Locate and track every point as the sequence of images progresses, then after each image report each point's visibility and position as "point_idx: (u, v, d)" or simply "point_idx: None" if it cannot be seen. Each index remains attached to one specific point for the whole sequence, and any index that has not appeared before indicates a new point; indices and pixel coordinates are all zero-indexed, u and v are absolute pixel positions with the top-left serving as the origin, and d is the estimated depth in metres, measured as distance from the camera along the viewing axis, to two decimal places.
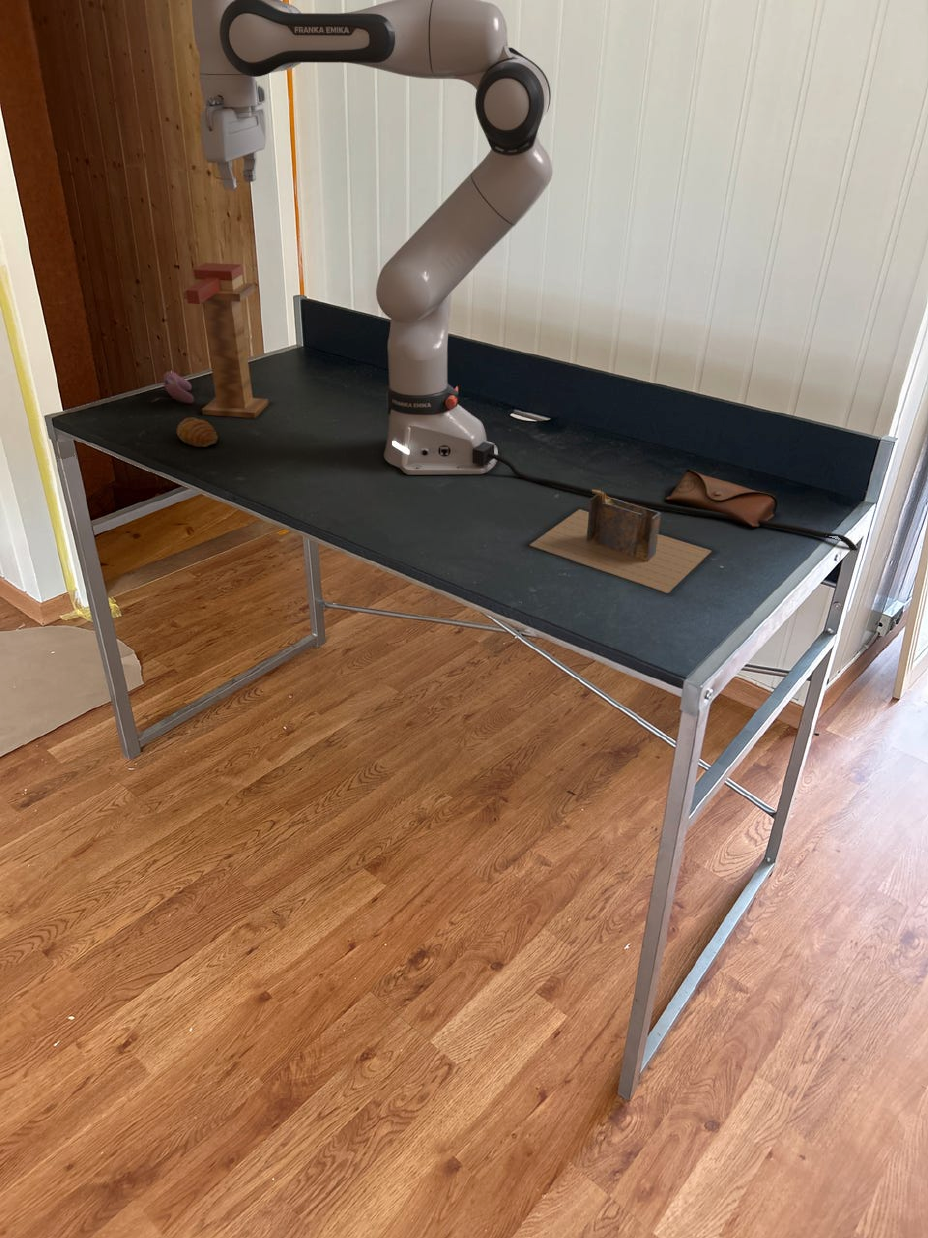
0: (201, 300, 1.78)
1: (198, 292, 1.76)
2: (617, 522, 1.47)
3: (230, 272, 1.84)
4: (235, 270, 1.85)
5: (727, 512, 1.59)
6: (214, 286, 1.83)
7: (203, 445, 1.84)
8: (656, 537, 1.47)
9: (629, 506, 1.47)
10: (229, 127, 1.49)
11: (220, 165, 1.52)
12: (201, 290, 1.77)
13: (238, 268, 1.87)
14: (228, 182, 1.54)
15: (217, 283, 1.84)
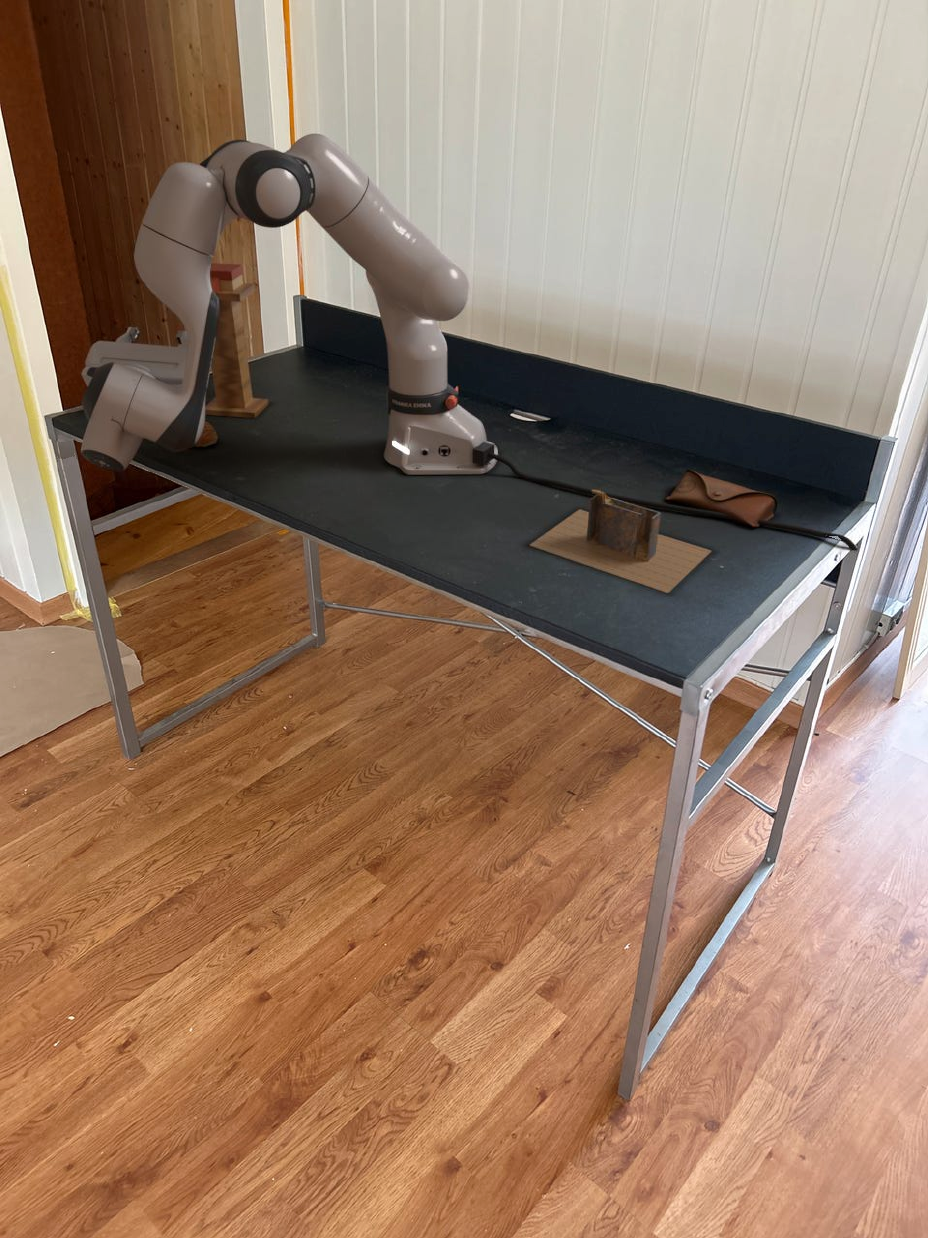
0: None
1: None
2: (617, 522, 1.47)
3: (230, 272, 1.84)
4: (235, 270, 1.85)
5: (727, 512, 1.59)
6: (214, 286, 1.83)
7: (203, 445, 1.84)
8: (656, 537, 1.47)
9: (629, 506, 1.47)
10: (170, 367, 1.59)
11: None
12: None
13: (238, 268, 1.87)
14: (185, 338, 1.64)
15: (217, 283, 1.84)
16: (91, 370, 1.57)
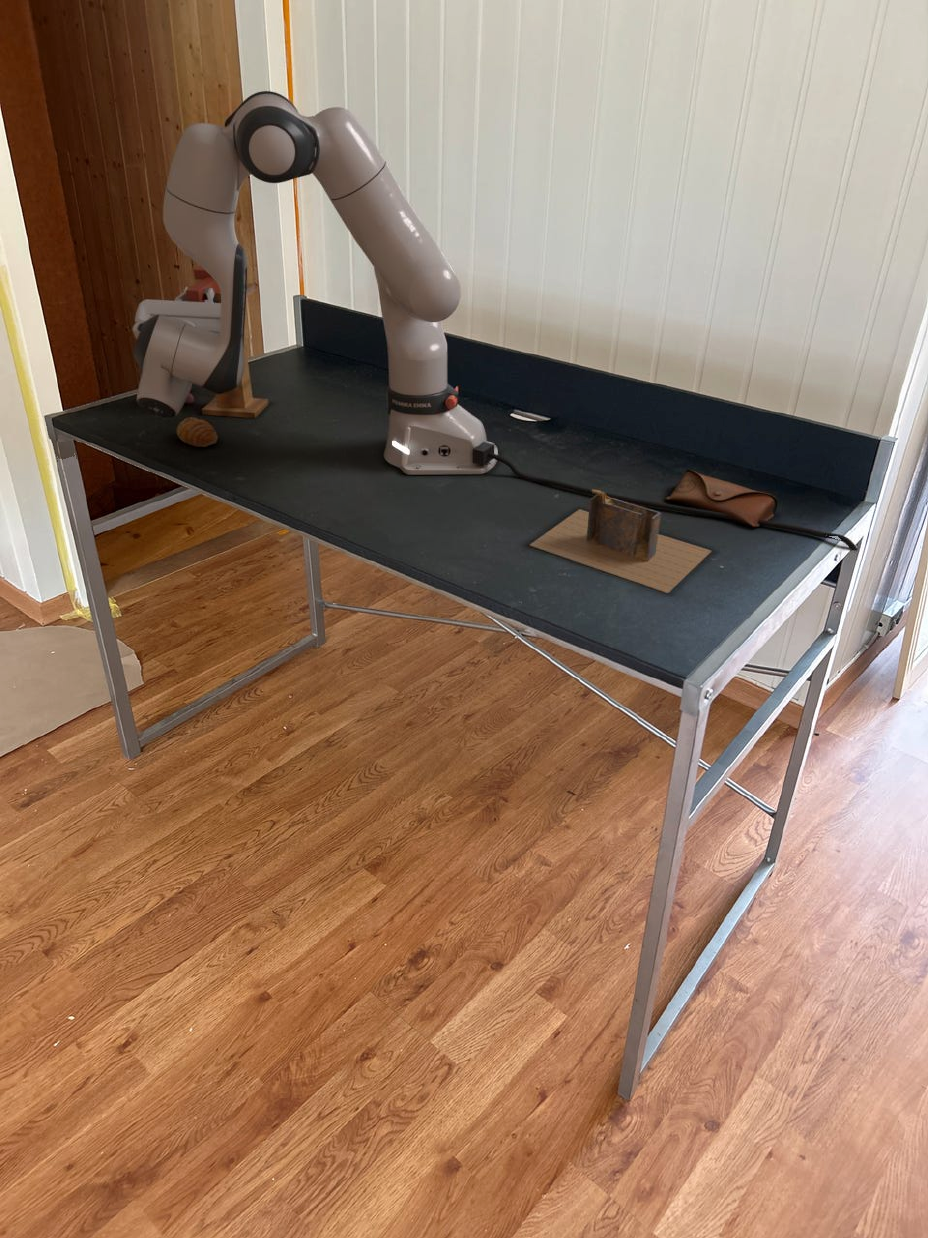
0: (201, 300, 1.78)
1: (198, 292, 1.76)
2: (617, 522, 1.47)
3: None
4: None
5: (727, 512, 1.59)
6: (214, 286, 1.83)
7: (203, 445, 1.84)
8: (656, 537, 1.47)
9: (629, 506, 1.47)
10: (213, 321, 1.73)
11: None
12: (201, 290, 1.77)
13: None
14: (211, 294, 1.78)
15: None
16: (141, 326, 1.72)
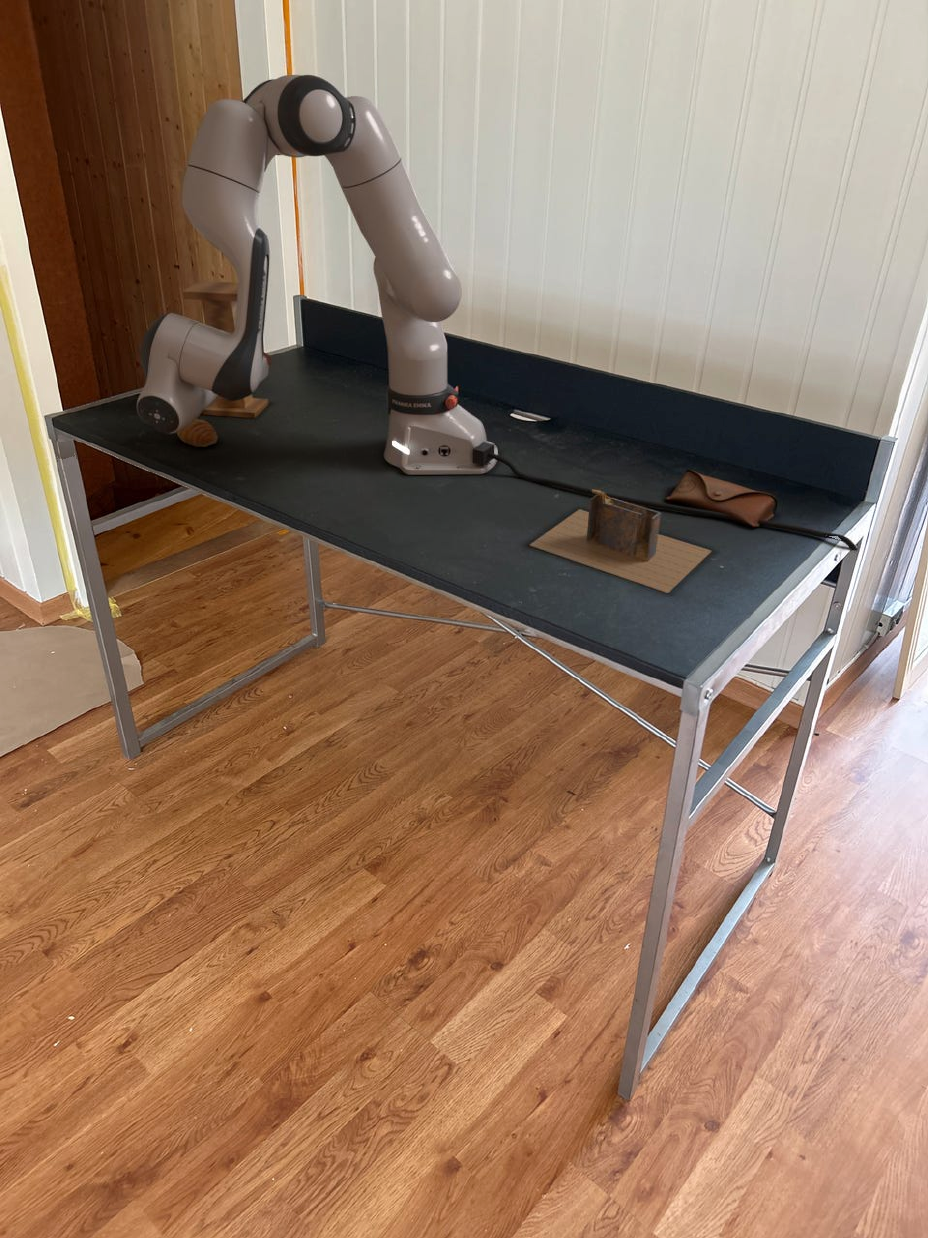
0: None
1: None
2: (617, 522, 1.47)
3: None
4: (263, 353, 1.78)
5: (727, 512, 1.59)
6: None
7: (203, 445, 1.84)
8: (656, 537, 1.47)
9: (629, 506, 1.47)
10: None
11: None
12: None
13: (266, 355, 1.79)
14: None
15: None
16: None
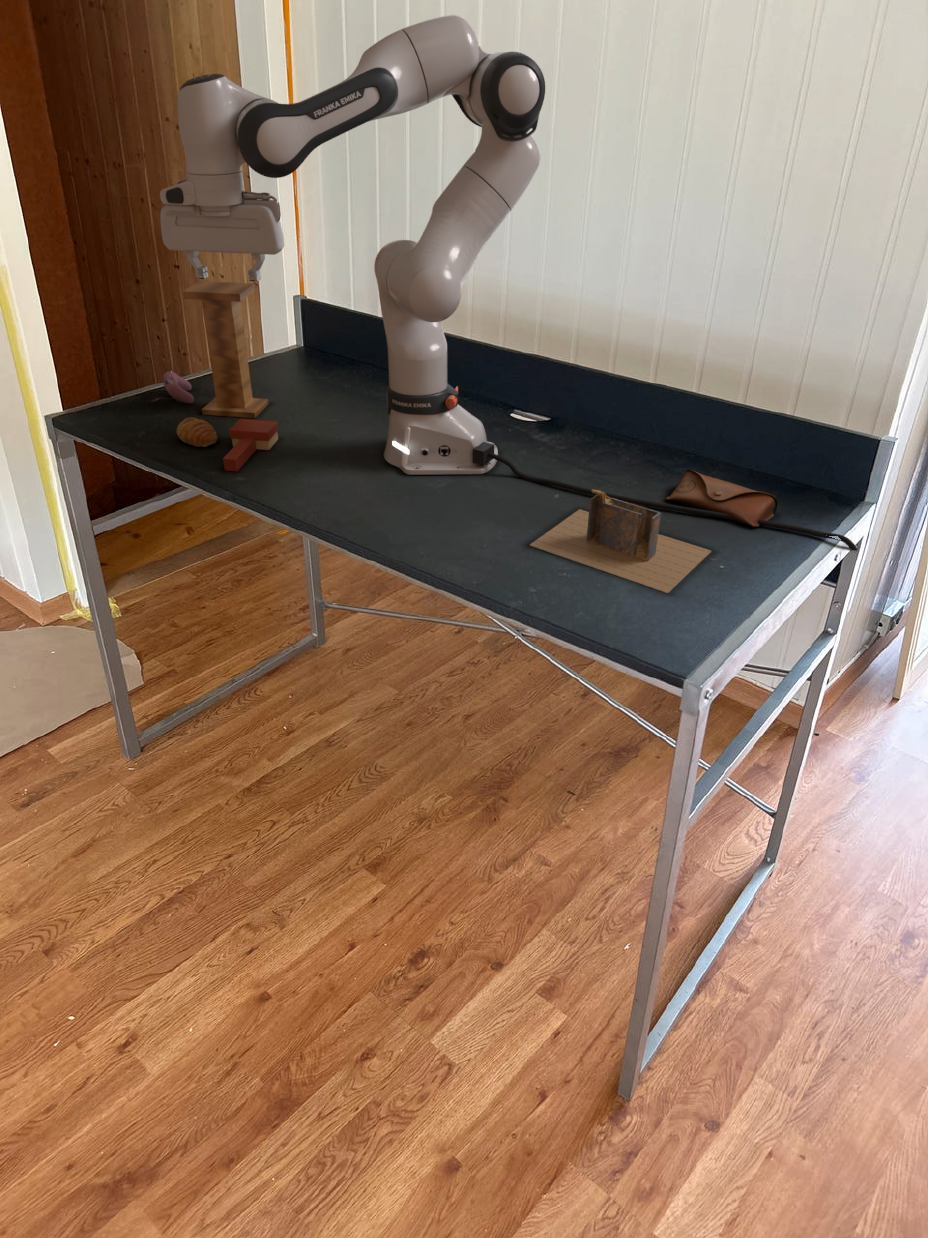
0: (238, 467, 1.76)
1: (235, 460, 1.74)
2: (617, 522, 1.47)
3: (266, 433, 1.81)
4: (271, 430, 1.83)
5: (727, 512, 1.59)
6: (250, 448, 1.81)
7: (203, 445, 1.84)
8: (656, 537, 1.47)
9: (629, 506, 1.47)
10: None
11: (261, 257, 1.53)
12: (238, 457, 1.75)
13: (274, 426, 1.85)
14: (258, 273, 1.55)
15: (253, 444, 1.82)
16: None
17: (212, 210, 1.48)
